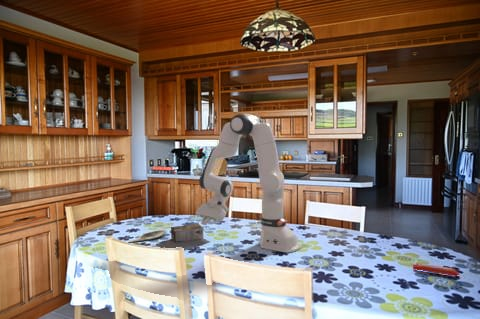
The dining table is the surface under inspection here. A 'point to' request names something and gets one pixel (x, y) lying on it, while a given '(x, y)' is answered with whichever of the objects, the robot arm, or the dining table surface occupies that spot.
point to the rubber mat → (183, 243)
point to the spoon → (150, 235)
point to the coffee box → (186, 232)
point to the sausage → (435, 269)
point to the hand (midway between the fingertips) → (203, 224)
